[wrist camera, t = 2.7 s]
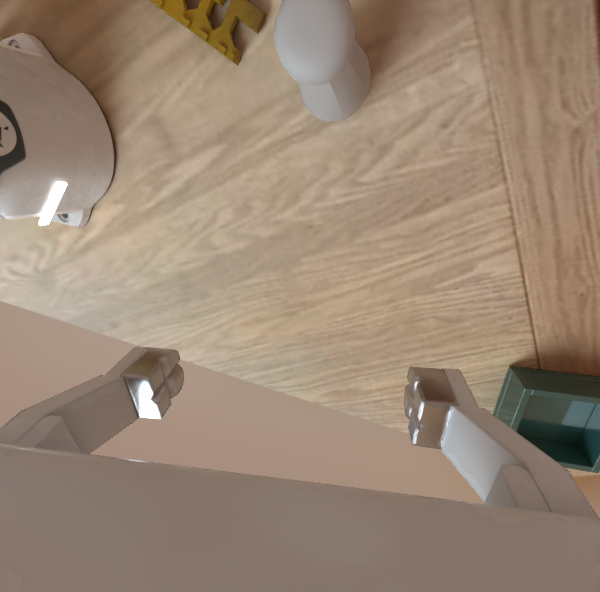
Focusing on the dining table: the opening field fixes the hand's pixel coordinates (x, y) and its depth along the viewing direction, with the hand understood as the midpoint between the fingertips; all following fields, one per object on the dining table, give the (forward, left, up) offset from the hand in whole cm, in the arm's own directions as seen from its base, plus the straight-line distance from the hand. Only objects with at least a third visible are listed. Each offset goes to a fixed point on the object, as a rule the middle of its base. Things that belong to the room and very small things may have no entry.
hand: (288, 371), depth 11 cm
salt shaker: (-1, +13, -24) cm, 27 cm away
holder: (+24, -18, -23) cm, 38 cm away
